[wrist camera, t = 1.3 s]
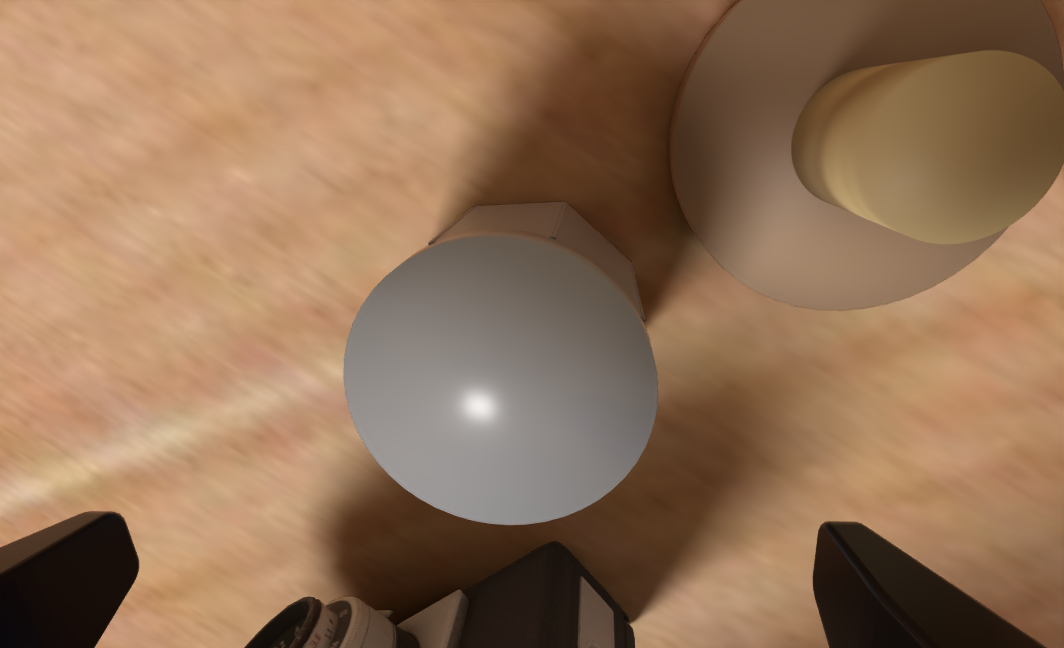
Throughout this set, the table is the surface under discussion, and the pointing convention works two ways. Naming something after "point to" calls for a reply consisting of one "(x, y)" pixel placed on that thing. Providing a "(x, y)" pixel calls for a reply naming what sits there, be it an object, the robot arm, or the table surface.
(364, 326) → the cap
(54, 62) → the table surface
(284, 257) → the table surface
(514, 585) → the camera
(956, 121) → the stub
